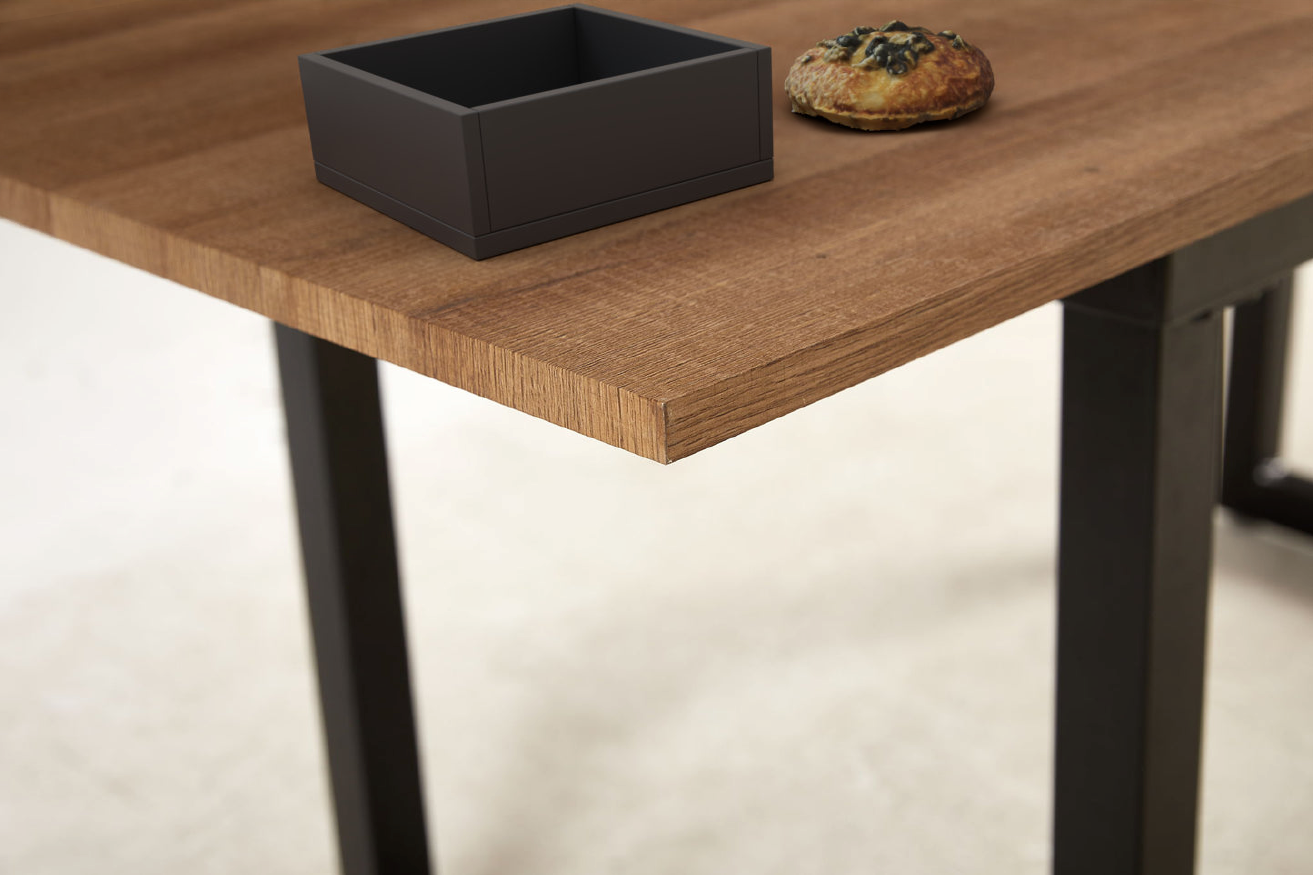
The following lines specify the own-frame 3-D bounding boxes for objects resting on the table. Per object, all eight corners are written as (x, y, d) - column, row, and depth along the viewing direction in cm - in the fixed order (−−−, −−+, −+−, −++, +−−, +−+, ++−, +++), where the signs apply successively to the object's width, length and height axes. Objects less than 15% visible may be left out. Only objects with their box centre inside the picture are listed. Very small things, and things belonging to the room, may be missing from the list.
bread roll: (1037, 90, 81) (1032, -5, 79) (918, 170, 75) (908, 70, 72) (863, 73, 88) (853, -15, 86) (741, 145, 82) (726, 53, 80)
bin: (476, 261, 63) (460, 115, 60) (315, 180, 75) (296, 55, 72) (774, 179, 71) (772, 46, 68) (587, 117, 82) (578, 2, 80)
